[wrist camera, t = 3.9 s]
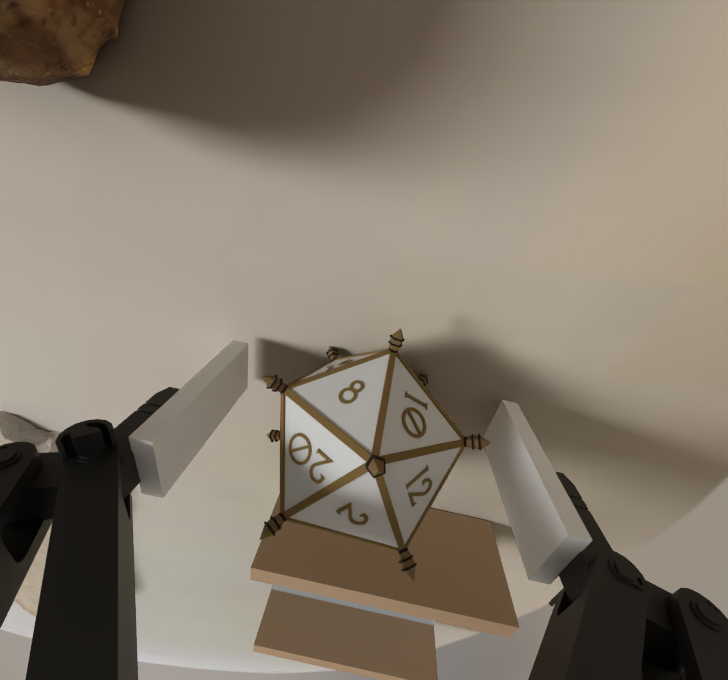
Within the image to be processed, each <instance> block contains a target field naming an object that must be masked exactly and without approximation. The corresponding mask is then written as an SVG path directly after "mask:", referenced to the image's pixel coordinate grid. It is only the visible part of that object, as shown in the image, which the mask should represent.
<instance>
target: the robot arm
mask: <svg viewBox="0 0 728 680" xmlns="http://www.w3.org/2000/svg"><path fill="white" fill-rule="evenodd" d="M247 381H248V343H243V342H239V341H234V340H233V341H232V342H231V343H230V344H229V345H228V346H226V347H225V348H224V349H223V350H222V351H221V352H220V353H219V354H218V355H217V356H216V357H215V358H213V359H212V360H211V361H210V362H209V363H208V364H207V365H206V366H205V367H204V368H203V369H202V370H200V371H199V372H198V373H197V374H196V375H195V376H194V377H193V378H192V379H191V380H190V381H189V382H187V383H186V384H185V385H184V386H183V387H182V388H181V389H177V388H172V387H169V388H167V389H164V390H162V391H160V392H158V393H156V394H155V395H154V396H152V397H151V398H150V399H149V400H148V401H147V402H146V404H143V405H142V406H141V407H139V408H138V410H137V411H135V412H134V413H132V414H131V415H130V416H129V417H128V418H127V419H125V420H124V421H123V422H122V423H121V424H119V425H118V426H117V427H116V428H115V429H114V428H113V426H112V423H110V422H108V421H106V420H100V419H95V420H87V421H83V422H80V423H77V424H74V425H72V426H71V427H69V428H67V429H65V430H64V431H63V432H62V433H60V434H59V435H58V437H57V439H56V441H55V444H56V446H57V449H58V451H59V452H48V453H38V450H37V448H36V447H35V445H34V444H32V443H30V442H13V443H8V444H4V445H1V446H0V628H1V626H2V624H3V622H4V620H5V618H6V616H7V613H8V611H9V609H10V607H11V605H12V603H13V601H14V599H15V597H16V595H17V593H18V591H19V589H20V587H21V585H22V583H23V581H24V579H25V577H26V575H27V573H28V571H29V569H30V567H31V565H32V562H33V560H34V558H35V556H36V554H37V552H38V550H39V548H40V546H41V544H42V542H43V540H44V538H45V536H46V534H47V532H48V530H49V528H50V526H51V524H52V527H51V532H50V538H49V544H48V550H47V556H46V562H45V568H44V574H43V580H42V586H41V592H40V597H39V603H38V609H37V615H36V621H35V627H34V633H33V639H32V645H31V651H30V657H29V663H28V668H27V674H26V680H138V665H137V635H136V606H135V576H134V547H133V517H132V496H131V492H132V490H133V489H134V488H135V487H136V486H137V485H138V484H139V483H140V487H141V492H142V493H143V494H148V495H152V496H157V497H161V498H163V497H164V496H165V495H166V493H167V492H168V491H169V490H170V488H171V487H172V486H173V484H174V483H175V482H176V480H177V479H178V478H179V476H180V475H181V474H182V472H183V471H184V470H185V468H186V467H187V466H188V465H189V463H190V462H191V461H192V459H193V458H194V457H195V455H196V454H197V453H198V451H199V450H200V449H201V447H202V446H203V445H204V443H205V442H206V441H207V440H208V438H209V437H210V436H211V434H212V433H213V432H214V430H215V429H216V428H217V426H218V425H219V424H220V422H221V421H222V420H223V418H224V417H225V416H226V415H227V413H228V412H229V411H230V409H231V408H232V407H233V405H234V404H235V403H236V401H237V400H238V399H239V397H240V396H241V395H242V393H243V392H244V391H245V390H246V388H247ZM483 438H485V439H486V440H488V441H489V442H491V444H489V445H487V446H485V449H486V452H487V455H488V458H489V461H490V464H491V467H492V470H493V473H494V476H495V479H496V482H497V485H498V488H499V492H500V495H501V498H502V501H503V504H504V507H505V510H506V513H507V516H508V519H509V522H510V525H511V528H512V531H513V534H514V537H515V540H516V543H517V546H518V549H519V552H520V555H521V558H522V561H523V564H524V567H525V570H526V573H527V576H528V579H529V580H532V581H537V582H541V583H546V584H551V583H552V582H553V581H554V580H555V579H556V578H557V577H558V576H559V577H560V579H561V582H562V584H563V587H564V588H563V589H562V590H561V591H560V592H559V593H558V594H557V595H556V596H555V597H554V598H553V599H552V600H551V601H550V602H549V603H548V604H550V605H551V606H553V605H554V604H555V606H554V609H553V612H552V614H551V617H550V620H549V623H548V626H547V629H546V631H545V634H544V637H543V640H542V643H541V645H540V648H539V651H538V654H537V657H536V660H535V662H534V666H533V668H532V671H531V674H530V677H529V679H528V680H728V619H727V618H726V617H725V616H724V614H723V613H722V612H721V611H720V610H719V609H718V608H717V607H716V606H715V605H714V604H713V603H712V602H710V601H709V600H708V599H706V598H705V597H704V596H702V595H701V594H699V593H697V592H695V591H693V590H691V589H688V588H680V589H679V590H677V591H676V592H675V593H673V594H671V593H669V592H667V591H665V590H663V589H662V588H659V587H658V586H656V585H654V584H652V583H650V582H648V581H646V580H645V579H644V577H643V575H642V574H641V573H640V572H639V570H638V569H637V568H636V567H635V566H634V565H633V564H632V563H631V562H630V561H629V560H628V559H626V558H625V557H624V556H622V555H620V554H619V553H617V552H615V551H613V550H612V548H611V547H610V545H609V543H608V542H607V540H606V538H605V536H604V535H603V533H602V531H601V530H600V528H599V526H598V525H597V523H596V521H595V519H594V518H593V516H592V514H591V513H590V511H588V508H587V506H586V504H585V503H584V501H583V500H582V497H581V496H580V494H579V492H578V491H577V489H576V487H575V486H574V484H573V483H572V482H571V481H570V480H569V479H568V478H567V477H566V476H565V475H564V474H563V473H559V472H555V471H554V469H553V467H552V465H551V464H550V462H549V460H548V458H547V456H546V454H545V453H544V451H543V449H542V447H541V445H540V443H539V442H538V440H537V438H536V436H535V434H534V433H533V431H532V429H531V427H530V425H529V423H528V422H527V420H526V418H525V416H524V414H523V413H522V411H521V409H520V407H519V405H518V403H515V402H510V401H506V400H502V402H501V404H500V405H499V407H498V409H497V411H496V413H495V415H494V417H493V419H492V421H491V423H490V425H489V427H488V429H487V431H486V433H485V434H484V436H483Z"/></svg>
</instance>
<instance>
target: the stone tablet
mask: <svg viewBox="0 0 728 680" xmlns="http://www.w3.org/2000/svg"><path fill="white" fill-rule="evenodd" d="M59 434H60V432H47V431H44V430H41V429H37V428H35V427H34V426H33V425H31V424H30V423H28V422H26V421H24V420H22V419H20V418H19V417H17V416H15V415H12V414H10V413H7V412H5V411H0V446H1V445H4V444H8V443H13V442H30V443H32V444H34V445H35V447H36V448H37V450H38V453H48V452H59V451H58V449H57V446H56V444H55V441H56V439H57V437H58V435H59ZM51 527H52V524H51V526H50V528H49V530H48V532H47V534H46V536H45V538H44V540H43V542H42V544H41V546H40V548H39V550H38V552H37V554H36V556H35V558H34V560H33V562H32V565H31V567H30V569H29V571H28V573H27V575H26V577H25V579H24V581H23V583H22V585H21V587H20V589H19V591H18V593H17V595H16V597H15V599H14V601H15V602H17V603H18V604H19V605H20V606H21V607H22V608H23V609H24V610H26V611H27V612H29V613H30V614H32V615H34V616H36V615H37V609H38V603H39V597H40V592H41V586H42V580H43V574H44V568H45V562H46V556H47V550H48V544H49V538H50V532H51Z"/></svg>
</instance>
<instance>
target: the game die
mask: <svg viewBox="0 0 728 680" xmlns="http://www.w3.org/2000/svg"><path fill="white" fill-rule="evenodd" d="M390 337H391V340H390V341H389V343H390V348H389V349H387V350H382V351H376V352H370V353H365V354H359V355H354V356H348V357H342V358H338V353H337V349H334V348H332V347H329V350H328V352H327V353H326V354H327V355H328V358H329V359H331V361H330V362H328V363H326V364H325V365H323V366H321V367H319V368H317V369H315V370H314V371H312V372H310V373H308V374H306V375H304V376H303V377H301V378H299V379H297V380H295V381H293V382H292V383H290V384H288V385H286V384H284V383H283V381H282V378H281V379H279V378H278V377H277V375H275V376H263V378H264V380H265V383H266V385H267V387H266V388H268V389H269V388H270V389H272V391H273V392H277V391H278V392H280V393H281V419H280V431H278V430H271V432H270V433H269V434H267V436H268V437H269V438H270V440H271V442H273V441H276V442H277V441H279V440H280V512H279V514H278V515H276V516H274V517H272V516H271V517H270V518H271V519H270V520H269V521H268V522H266V521H265V522H264V523H265V525H264V528H263V531H262V534H261V537H260V539H264V538H267V537H270V536H275V533H276V532H277V531H278V530H281V526H282V525H283V523H284V522H285V521H289V522H292V523H296V524H300V525H303V526H307V527H311V528H314V529H318V530H322V531H325V532H329V533H333V534H336V535H340V536H344V537H347V538H351V539H355V540H358V541H362V542H366V543H369V544H373V545H377V546H380V547H384V548H388V549H391V550H395V551H398V553H399V557H400V561H399V563H401V566H402V569H401V571H404V572H405V573H406V574H407V575H408V576H409V577H410V578H411V579H412V580H413V581H414V580H415V567H416V565H417V563H415V562H414V560H413V557H414V556H413V555H411V554H410V552H409V551H408V545H409V544H410V542H411V540H412V538H413V537H414V535H415V533H416V531H417V530H418V528H419V526H420V524H421V523H422V521H423V519H424V517H425V516H426V514H427V512H428V510H429V509H430V507H431V505H432V503H433V502H434V500H435V498H436V496H437V495H438V493H439V491H440V489H441V488H442V486H443V484H444V482H445V481H446V479H447V477H448V475H449V474H450V472H451V470H452V468H453V467H454V465H455V463H456V461H457V460H458V458H459V456H460V454H461V453H462V451H463V449H464V447H467V446H468V447H471V448H472V449H474V448H477V449H479V450H481V448H483V447H485V446H487V445H489V444H491V442H489V441H488V440H486V439H485V438H483V437H481V436H480V434H478V436H473V434H471V436H469V437H464V436H463V435H462V433H461V432H460V431H459V429H458V428H457V427H456V426H455V424H454V423H453V422H452V421H451V419H450V418H449V417H448V415H447V414H446V413H445V412H444V410H443V409H442V408H441V407H440V405H439V404H438V403H437V401H436V400H435V399H434V398H433V396H432V395H431V394H430V393H429V391H428V390H427V389H426V387H425V384H428V380H427V378H428V375H422V374H421V375H420V376H419V377H417V376H416V375H415V373H414V372H413V371H412V370H411V368H410V367H409V366H408V365H407V363H406V362H405V361H404V359H403V358H402V357H401V356H400V354H399V353H398V349H399V348H400V347H401V346H402V342H403V341H404V340H405V339H403V335H402V330H401V329H399V330H398V331H397V332H395V333H394V334H393V335H390Z"/></svg>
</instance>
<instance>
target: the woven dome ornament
mask: <svg viewBox="0 0 728 680" xmlns="http://www.w3.org/2000/svg"><path fill="white" fill-rule="evenodd" d="M125 1H126V0H0V81H8V82H16V83H26V84H31V85H37V86H45V85H51V84H55V83H58V82H61V81H64V80H67V79H76V78H82V77H84V76H87V75H89V73H90V71H91V69H92V67H93V64H94V61H95V58H96V55H97V53H98V51H99V49H100V48H101V46H102V45H103V44H104V43H105V42H106V41H108V40H109V39H117V37H118V26H119V22H120V19H121V15H122V11H123V8H124V4H125Z"/></svg>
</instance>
